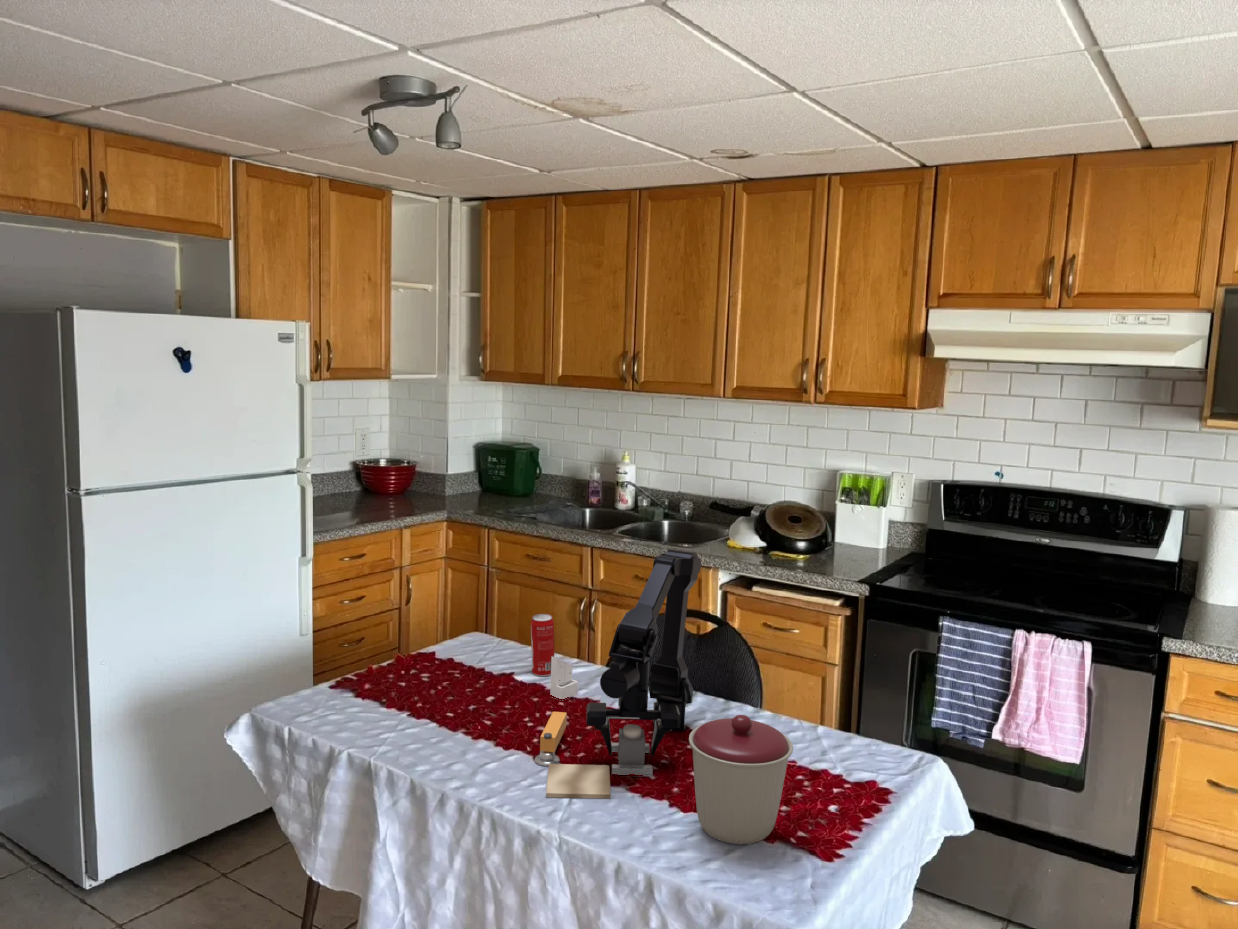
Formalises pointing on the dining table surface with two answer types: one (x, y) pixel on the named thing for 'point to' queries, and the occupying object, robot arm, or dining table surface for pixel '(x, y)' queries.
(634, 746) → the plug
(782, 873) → the dining table surface
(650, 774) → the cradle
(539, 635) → the beverage can
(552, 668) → the white angled block
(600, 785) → the board
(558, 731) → the latch
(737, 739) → the canister
